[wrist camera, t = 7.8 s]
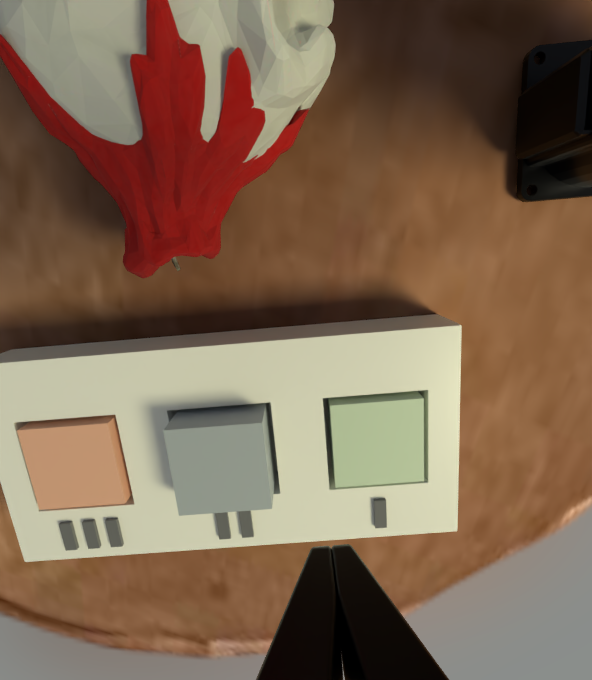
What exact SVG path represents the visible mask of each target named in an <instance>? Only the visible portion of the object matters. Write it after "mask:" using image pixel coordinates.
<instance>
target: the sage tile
mask: <svg viewBox="0 0 592 680" xmlns="http://www.w3.org/2000/svg"><path fill="white" fill-rule="evenodd" d="M327 405H328V420H329V434H330V449H331V463H332V469H333V475H334V481H335V487H336V488H338V487H351V486H365V485H378V484H392V483H406V482H419V481H424V398H423V397H422V396H421V395H420V393H419V392H418V391H408V392H395V393H383V394H370V395H357V396H345V397H332V398H327Z"/></svg>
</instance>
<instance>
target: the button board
mask: <svg viewBox="0 0 592 680" xmlns="http://www.w3.org/2000/svg"><path fill="white" fill-rule="evenodd" d="M460 374H461V325H460V324H458V323H456V322H453V321H451V320H449V319H447V318H445V317H443V316H440V315H438V314H432V315H420V316H408V317H396V318H384V319H372V320H359V321H347V322H335V323H323V324H311V325H299V326H287V327H275V328H263V329H251V330H239V331H227V332H215V333H203V334H190V335H178V336H166V337H154V338H142V339H130V340H118V341H106V342H94V343H82V344H70V345H58V346H46V347H33V348H21V349H11V350H9V351H6V352H3V353H0V482H1V486H2V489H3V492H4V495H5V499H6V502H7V505H8V508H9V512H10V515H11V518H12V521H13V525H14V528H15V531H16V535H17V538H18V541H19V544H20V548H21V551H22V554H23V557H24V561H25V562H31V561H45V560H59V559H73V558H87V557H101V556H115V555H129V554H143V553H157V552H171V551H185V550H199V549H213V548H227V547H241V546H255V545H269V544H284V543H298V542H312V541H326V540H340V539H354V538H368V537H382V536H396V535H410V534H424V533H438V532H452V531H457V523H458V474H459V424H460ZM408 391H418V392H419V393H420V395H421V396H422V397H423V398H424V481H419V482H406V483H392V484H378V485H365V486H351V487H338V488H336V487H335V481H334V475H333V469H332V463H331V449H330V434H329V420H328V405H327V398H332V397H345V396H357V395H370V394H383V393H395V392H408ZM257 403H266V407H267V416H268V425H269V434H270V443H271V452H272V461H273V470H274V479H275V483H274V494H273V505H272V509H265V510H251V511H237V512H224V513H210V514H196V515H183V516H179V513H178V508H177V502H176V497H175V492H174V486H173V481H172V475H171V470H170V464H169V459H168V454H167V448H166V443H165V437H164V432H163V430H164V429H165V427H166V426H167V425H168V423H169V422H170V421H171V419H172V418H173V416H174V415H175V414H176V412H177V411H178V410H181V409H194V408H207V407H219V406H232V405H245V404H257ZM104 415H116V420H117V425H118V429H119V434H120V439H121V443H122V448H123V453H124V457H125V462H126V467H127V471H128V476H129V481H130V485H131V490H132V494H131V496H130V497H129V499H128V500H127V502H126V503H125V504H111V505H97V506H84V507H70V508H57V509H43V510H39V507H38V503H37V500H36V496H35V493H34V489H33V486H32V482H31V479H30V475H29V471H28V468H27V464H26V461H25V457H24V454H23V450H22V447H21V443H20V440H19V436H18V433H17V430H18V429H20V428H21V427H23V426H25V425H26V424H28V423H29V422H31V421H40V420H53V419H65V418H78V417H91V416H104Z"/></svg>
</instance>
